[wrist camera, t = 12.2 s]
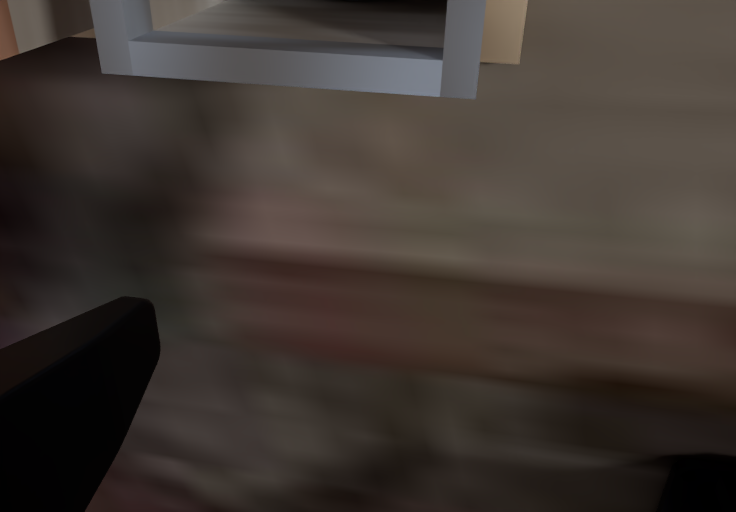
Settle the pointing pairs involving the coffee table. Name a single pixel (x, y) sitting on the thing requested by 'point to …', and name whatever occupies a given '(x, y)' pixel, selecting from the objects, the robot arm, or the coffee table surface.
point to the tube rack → (284, 40)
